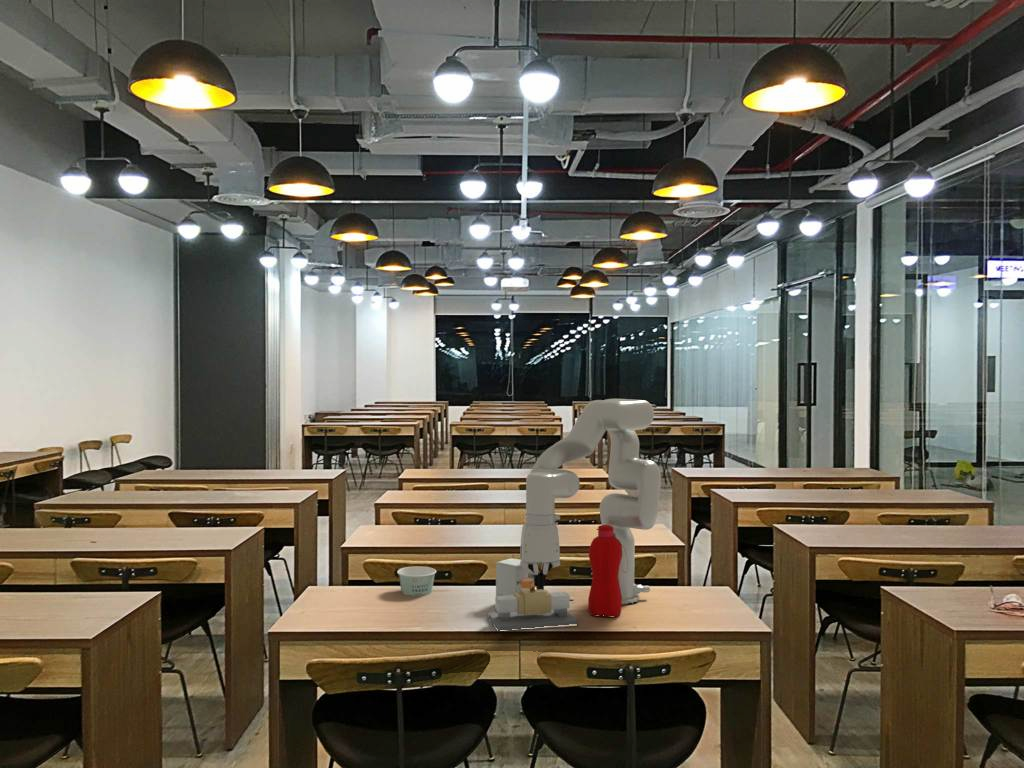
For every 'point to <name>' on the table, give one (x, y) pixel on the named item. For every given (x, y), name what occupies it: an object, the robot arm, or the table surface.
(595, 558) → the water bottle
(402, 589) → the food container
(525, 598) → the pipe valve
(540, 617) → the mounting board
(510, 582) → the supplement box
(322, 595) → the table surface
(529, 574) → the valve lever
